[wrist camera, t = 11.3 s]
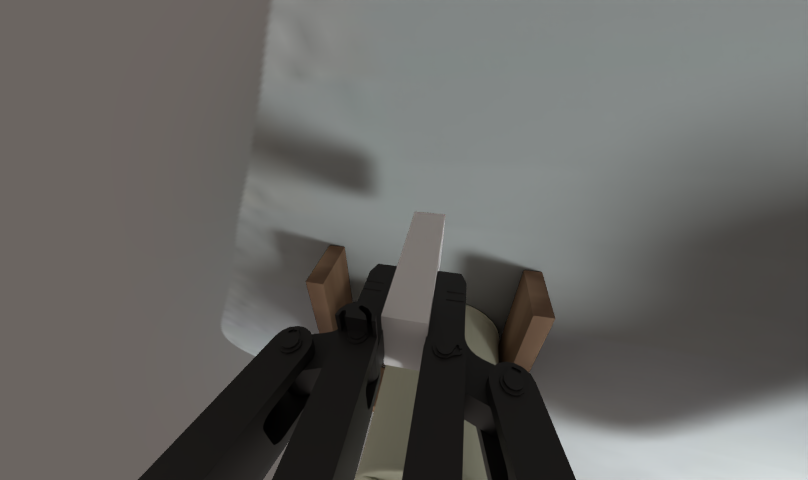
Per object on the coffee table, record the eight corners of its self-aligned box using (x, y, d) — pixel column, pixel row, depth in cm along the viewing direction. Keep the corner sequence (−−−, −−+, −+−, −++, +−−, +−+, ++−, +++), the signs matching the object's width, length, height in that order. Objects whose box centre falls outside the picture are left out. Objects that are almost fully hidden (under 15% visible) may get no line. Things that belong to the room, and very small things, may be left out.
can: (418, 282, 23) (380, 466, 13) (521, 327, 24) (556, 531, 14) (380, 341, 28) (334, 500, 19) (465, 375, 29) (462, 545, 20)
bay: (542, 272, 20) (555, 318, 17) (494, 394, 30) (497, 437, 27) (329, 245, 22) (305, 281, 19) (351, 367, 32) (338, 404, 29)
